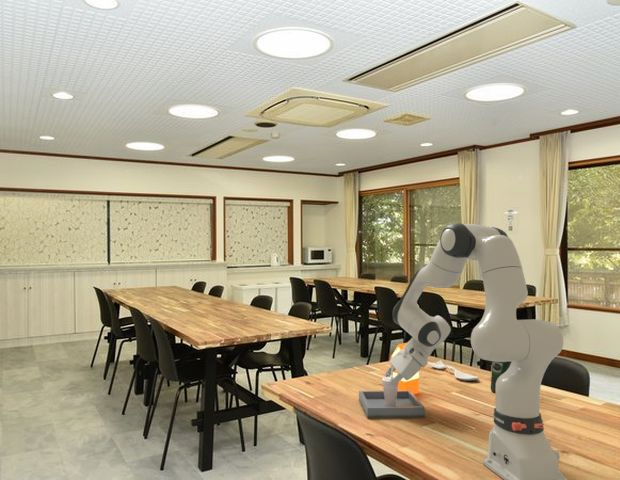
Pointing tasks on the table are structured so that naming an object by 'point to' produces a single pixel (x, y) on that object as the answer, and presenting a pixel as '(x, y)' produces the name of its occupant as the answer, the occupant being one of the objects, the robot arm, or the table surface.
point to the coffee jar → (498, 372)
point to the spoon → (457, 373)
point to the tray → (404, 407)
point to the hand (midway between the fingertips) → (388, 380)
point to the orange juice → (406, 384)
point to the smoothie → (390, 391)
